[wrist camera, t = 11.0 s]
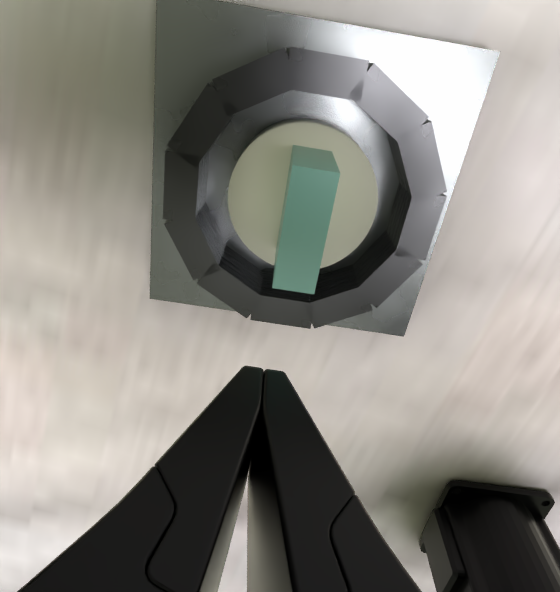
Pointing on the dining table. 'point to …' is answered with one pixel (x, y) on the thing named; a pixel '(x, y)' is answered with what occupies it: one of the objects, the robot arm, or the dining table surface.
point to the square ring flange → (303, 104)
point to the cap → (302, 199)
